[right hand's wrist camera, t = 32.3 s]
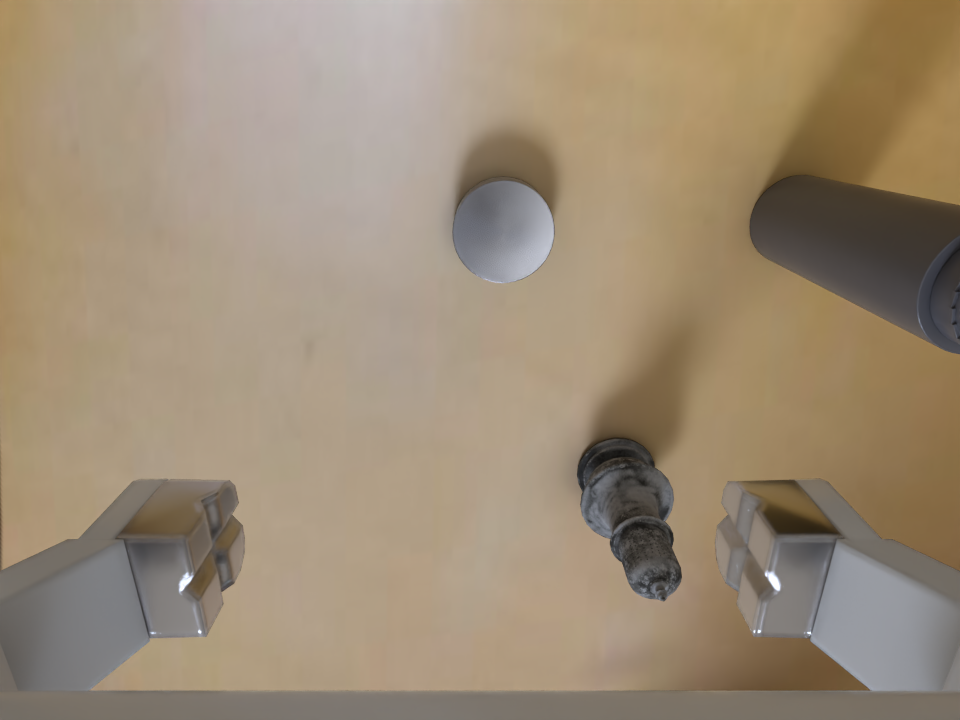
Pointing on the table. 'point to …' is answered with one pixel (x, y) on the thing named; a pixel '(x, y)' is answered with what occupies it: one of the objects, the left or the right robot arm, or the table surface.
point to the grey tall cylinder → (868, 250)
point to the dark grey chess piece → (631, 513)
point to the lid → (503, 229)
